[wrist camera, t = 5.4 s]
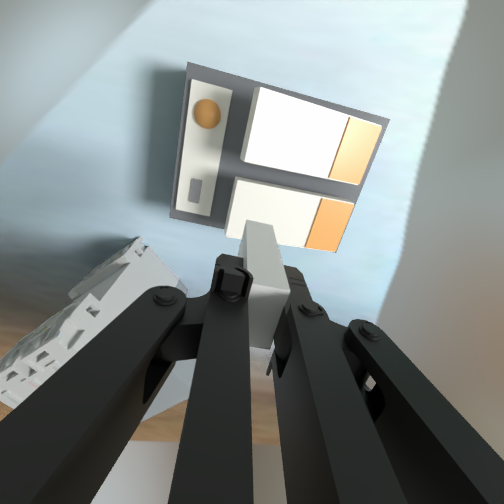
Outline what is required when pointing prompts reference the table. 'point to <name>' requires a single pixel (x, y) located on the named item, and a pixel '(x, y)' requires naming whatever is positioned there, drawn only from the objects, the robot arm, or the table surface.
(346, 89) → the table surface
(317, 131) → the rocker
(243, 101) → the switch unit
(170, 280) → the circuit breaker
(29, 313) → the table surface
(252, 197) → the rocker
